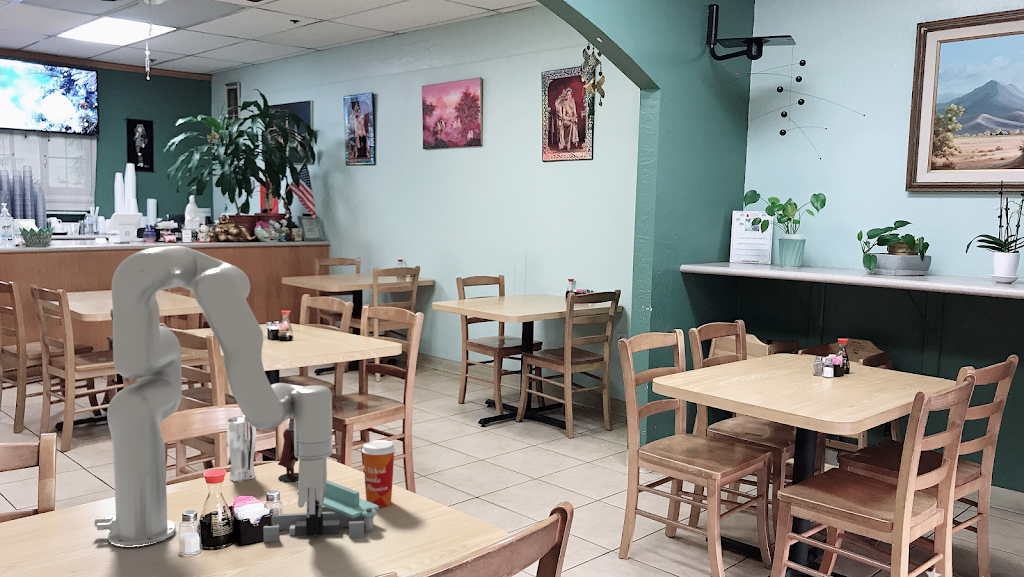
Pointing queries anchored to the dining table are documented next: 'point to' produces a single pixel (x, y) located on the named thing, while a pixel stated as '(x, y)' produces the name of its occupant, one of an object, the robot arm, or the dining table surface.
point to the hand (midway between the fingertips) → (314, 533)
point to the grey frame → (354, 523)
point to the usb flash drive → (328, 528)
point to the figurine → (289, 455)
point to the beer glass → (241, 448)
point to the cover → (347, 501)
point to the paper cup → (378, 471)
